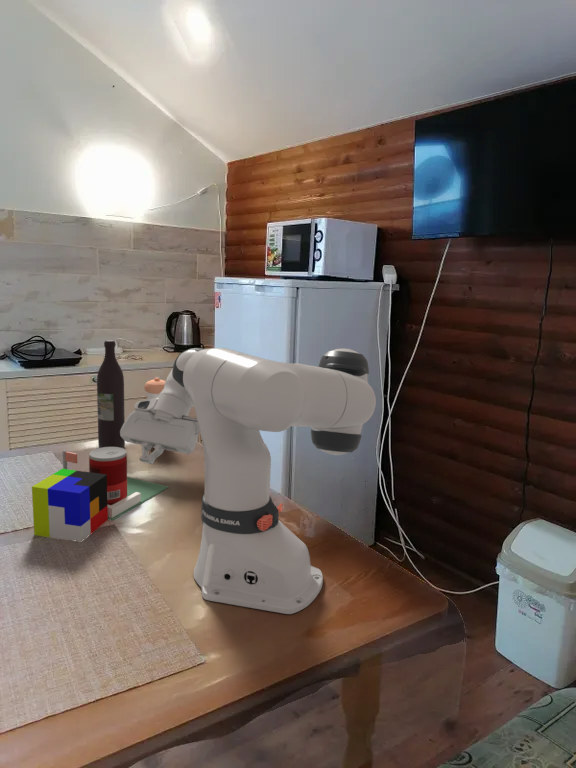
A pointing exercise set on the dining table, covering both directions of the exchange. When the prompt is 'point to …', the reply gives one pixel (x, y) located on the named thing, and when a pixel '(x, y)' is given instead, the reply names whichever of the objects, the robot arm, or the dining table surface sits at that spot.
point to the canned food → (111, 470)
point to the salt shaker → (154, 388)
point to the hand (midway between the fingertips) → (145, 462)
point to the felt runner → (141, 491)
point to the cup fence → (112, 509)
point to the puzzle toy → (70, 504)
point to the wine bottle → (110, 399)
